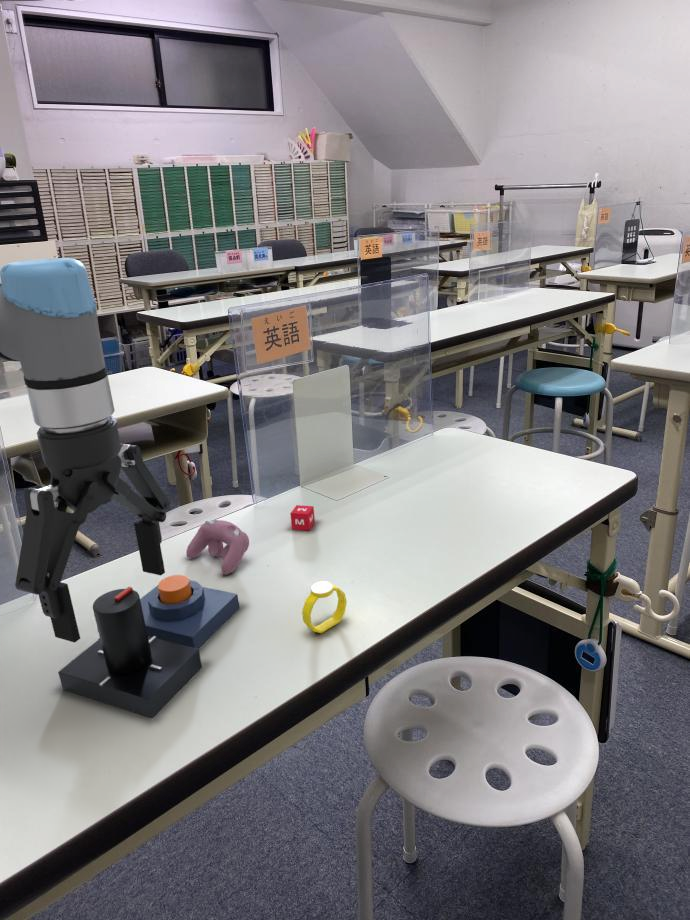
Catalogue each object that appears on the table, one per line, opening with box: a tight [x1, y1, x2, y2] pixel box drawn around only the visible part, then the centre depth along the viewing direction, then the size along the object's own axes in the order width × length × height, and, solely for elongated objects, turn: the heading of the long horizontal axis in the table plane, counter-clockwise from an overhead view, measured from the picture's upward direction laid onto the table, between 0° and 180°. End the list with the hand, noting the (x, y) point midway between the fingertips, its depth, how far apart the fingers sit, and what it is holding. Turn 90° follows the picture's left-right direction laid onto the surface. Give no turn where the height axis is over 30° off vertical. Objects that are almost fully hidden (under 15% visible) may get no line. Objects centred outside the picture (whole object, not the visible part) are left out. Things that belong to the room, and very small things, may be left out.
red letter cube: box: [290, 504, 316, 531], centre depth 112 cm, size 3×3×3 cm
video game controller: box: [186, 519, 250, 576], centre depth 103 cm, size 10×5×7 cm, turn 49°
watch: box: [301, 580, 348, 634], centre depth 85 cm, size 6×3×6 cm, turn 129°
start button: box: [157, 574, 192, 604], centre depth 88 cm, size 4×4×2 cm
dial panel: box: [57, 636, 203, 719], centre depth 79 cm, size 13×9×3 cm
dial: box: [92, 586, 151, 674], centre depth 77 cm, size 5×5×8 cm
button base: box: [140, 579, 240, 649], centre depth 89 cm, size 12×10×4 cm
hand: (114, 602), depth 76 cm, fingers open, 13 cm apart
